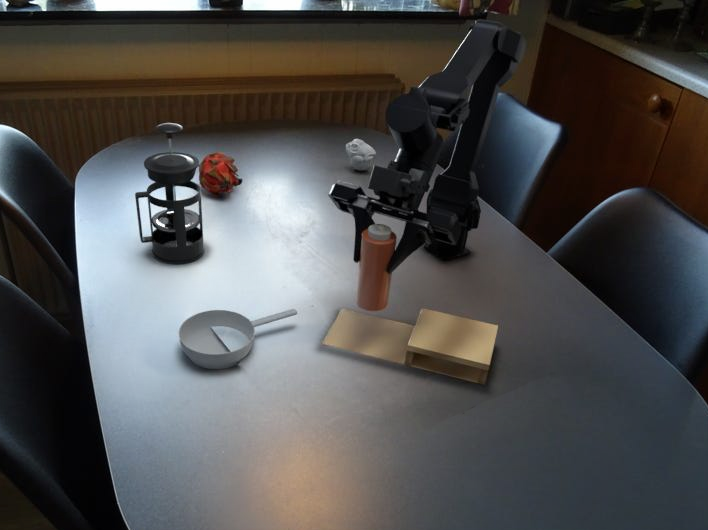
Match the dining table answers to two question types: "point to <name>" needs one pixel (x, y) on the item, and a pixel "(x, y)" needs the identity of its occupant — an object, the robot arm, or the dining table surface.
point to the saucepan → (207, 344)
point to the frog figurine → (360, 154)
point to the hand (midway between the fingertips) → (371, 267)
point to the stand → (420, 342)
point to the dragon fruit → (218, 174)
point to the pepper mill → (375, 267)
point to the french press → (173, 205)
